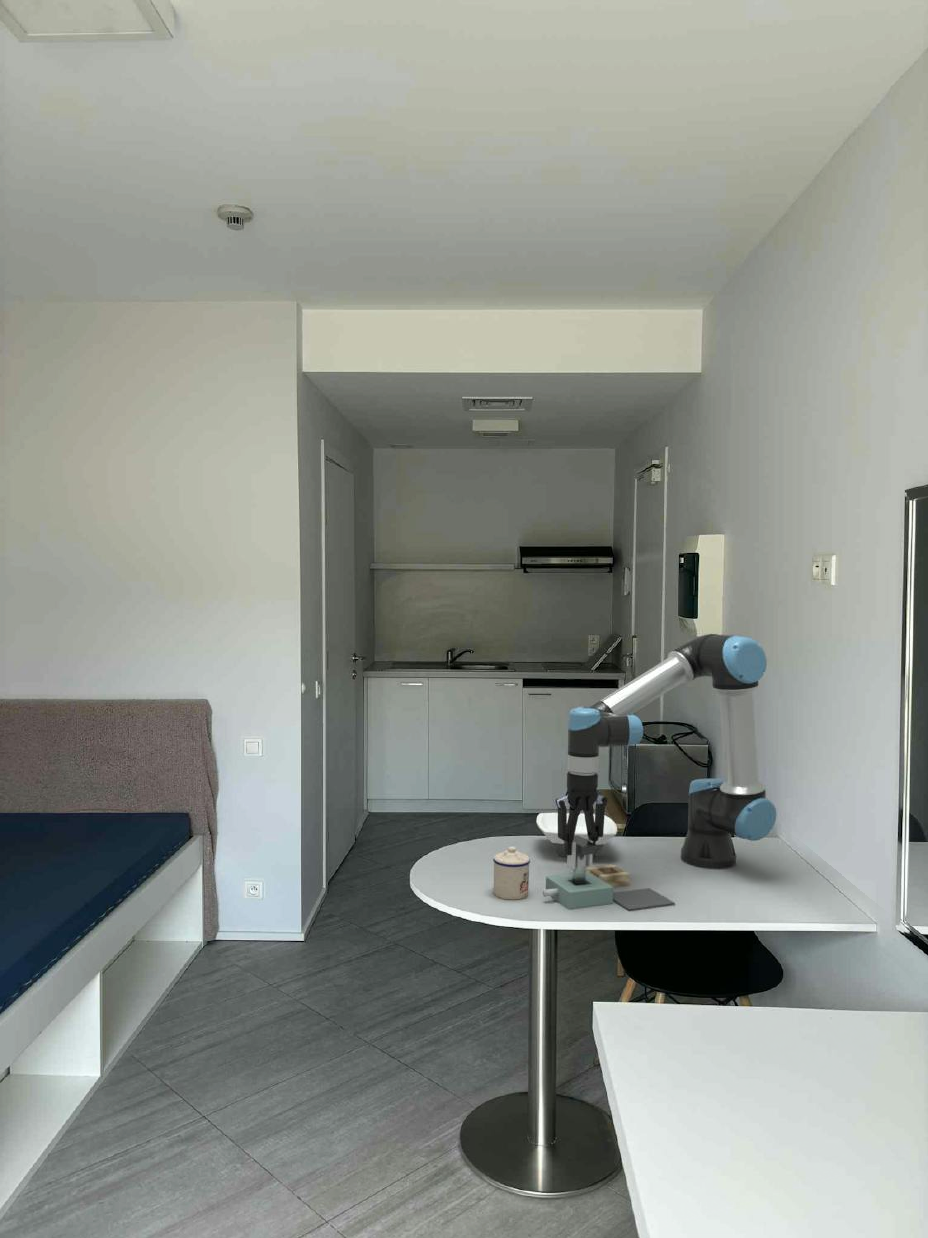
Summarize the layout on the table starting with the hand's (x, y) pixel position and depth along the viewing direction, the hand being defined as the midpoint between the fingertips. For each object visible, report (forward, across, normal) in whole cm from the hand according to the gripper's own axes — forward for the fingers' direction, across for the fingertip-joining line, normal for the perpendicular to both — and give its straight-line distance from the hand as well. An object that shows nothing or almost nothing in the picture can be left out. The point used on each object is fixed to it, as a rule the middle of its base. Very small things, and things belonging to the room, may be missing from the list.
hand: (579, 866), depth 217 cm
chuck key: (+5, 0, 0) cm, 5 cm away
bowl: (+8, -18, -34) cm, 39 cm away
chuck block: (+8, +2, 0) cm, 8 cm away
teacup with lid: (+8, +14, -9) cm, 18 cm away
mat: (+8, -14, +6) cm, 17 cm away
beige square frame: (+8, -13, -8) cm, 17 cm away
